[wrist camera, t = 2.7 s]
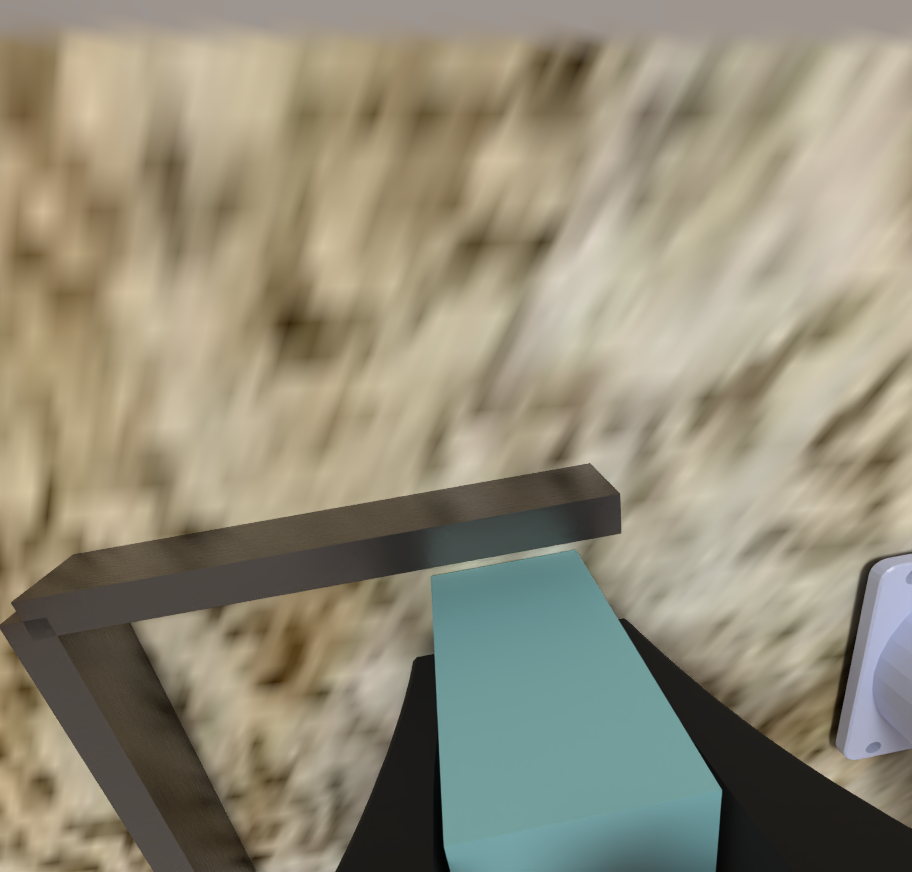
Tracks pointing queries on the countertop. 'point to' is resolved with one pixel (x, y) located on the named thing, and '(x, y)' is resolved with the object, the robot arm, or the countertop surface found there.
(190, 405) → the countertop surface
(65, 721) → the outer rail
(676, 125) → the countertop surface
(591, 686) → the teal block
